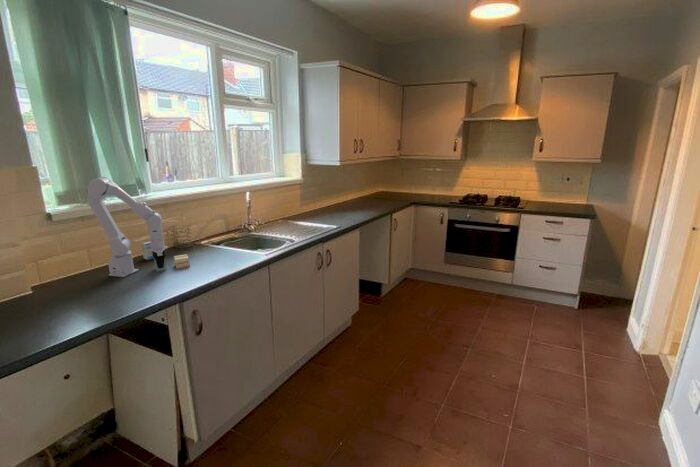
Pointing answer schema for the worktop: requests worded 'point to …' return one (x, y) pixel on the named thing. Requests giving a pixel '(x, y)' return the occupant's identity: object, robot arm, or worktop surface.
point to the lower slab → (182, 265)
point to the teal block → (160, 268)
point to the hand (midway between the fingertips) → (160, 266)
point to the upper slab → (181, 259)
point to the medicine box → (147, 251)
